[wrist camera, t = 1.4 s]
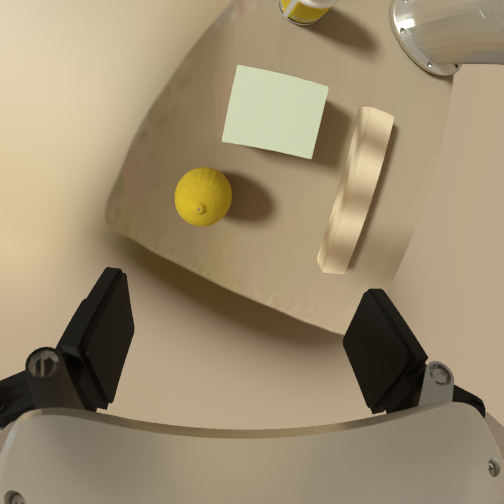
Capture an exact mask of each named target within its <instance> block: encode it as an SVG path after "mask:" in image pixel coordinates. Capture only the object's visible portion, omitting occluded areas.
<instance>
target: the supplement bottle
mask: <svg viewBox="0 0 504 504" xmlns="http://www.w3.org/2000/svg"><path fill="white" fill-rule="evenodd" d="M337 1H338V0H280V2H279V10H280V12H281V14H282V15H283V16H284V17H285V18H286V19H287V20H289V21H291V22H293V23H295V24H299V25H309V24H313V23H315V22H316V21H318V20H319V19H320V18H321V17H322V16H323V15H324V14H325V13H326V12H327V11H328V10H329V9H330V8H331V7H332V6H333V5H334V4H336V2H337Z"/></svg>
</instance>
